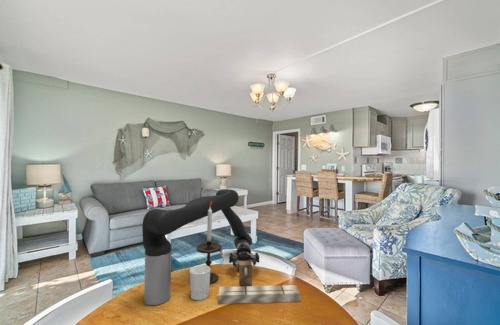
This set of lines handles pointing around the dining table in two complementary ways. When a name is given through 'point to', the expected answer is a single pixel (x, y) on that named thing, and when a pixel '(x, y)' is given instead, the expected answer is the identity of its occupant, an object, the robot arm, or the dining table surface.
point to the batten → (258, 294)
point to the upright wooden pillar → (245, 273)
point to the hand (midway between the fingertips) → (244, 264)
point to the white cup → (199, 282)
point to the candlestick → (209, 246)
